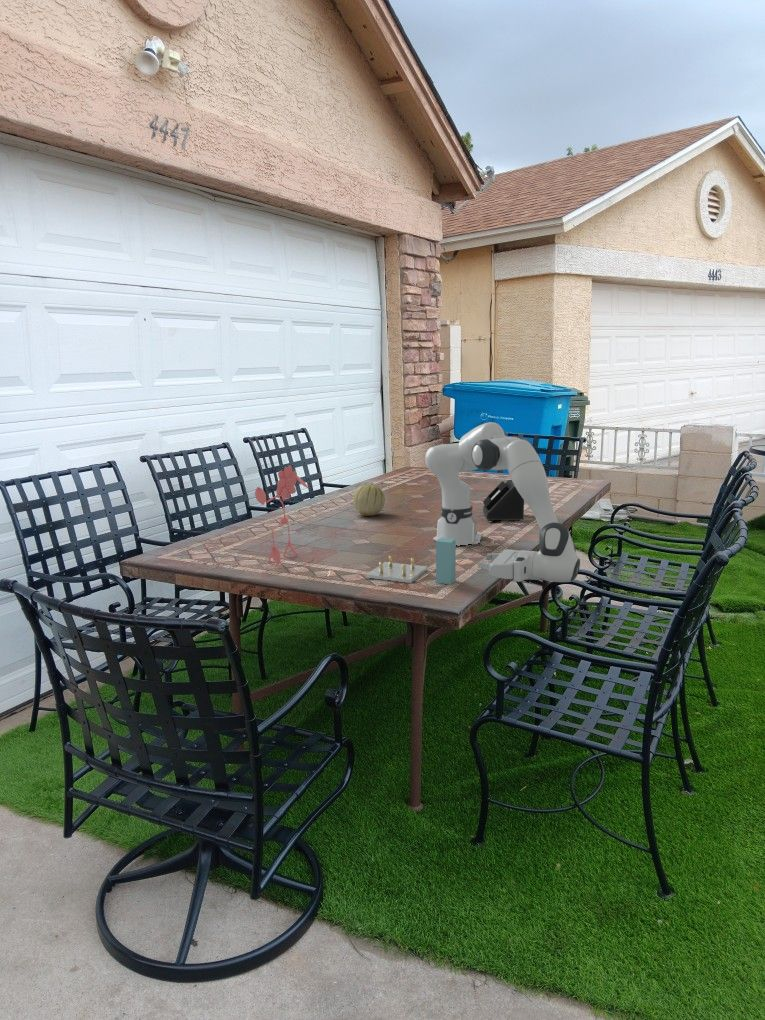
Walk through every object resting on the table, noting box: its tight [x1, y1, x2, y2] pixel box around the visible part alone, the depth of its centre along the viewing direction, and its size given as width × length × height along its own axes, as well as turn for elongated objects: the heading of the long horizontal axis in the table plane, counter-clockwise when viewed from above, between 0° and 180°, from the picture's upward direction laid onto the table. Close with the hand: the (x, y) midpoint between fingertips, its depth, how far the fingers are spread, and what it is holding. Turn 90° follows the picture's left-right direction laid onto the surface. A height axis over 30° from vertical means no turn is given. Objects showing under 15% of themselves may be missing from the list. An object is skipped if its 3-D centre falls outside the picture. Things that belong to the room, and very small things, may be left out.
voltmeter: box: [482, 479, 525, 523], centre depth 324 cm, size 16×16×20 cm
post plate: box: [365, 555, 428, 584], centre depth 248 cm, size 16×16×5 cm
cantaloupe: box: [352, 482, 386, 517], centre depth 335 cm, size 15×15×15 cm
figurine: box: [254, 464, 314, 567], centre depth 261 cm, size 15×26×35 cm, turn 151°
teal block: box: [435, 538, 457, 585], centre depth 238 cm, size 5×5×14 cm
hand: (482, 560), depth 233 cm, fingers open, 8 cm apart
